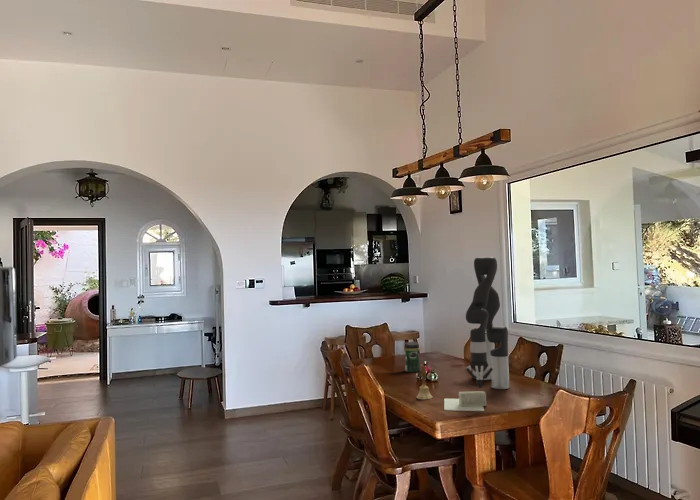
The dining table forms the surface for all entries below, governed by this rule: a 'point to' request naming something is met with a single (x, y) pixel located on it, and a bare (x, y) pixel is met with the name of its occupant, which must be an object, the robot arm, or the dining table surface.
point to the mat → (454, 406)
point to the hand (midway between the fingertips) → (479, 387)
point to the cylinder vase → (489, 347)
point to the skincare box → (472, 398)
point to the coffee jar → (412, 357)
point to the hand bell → (424, 387)
